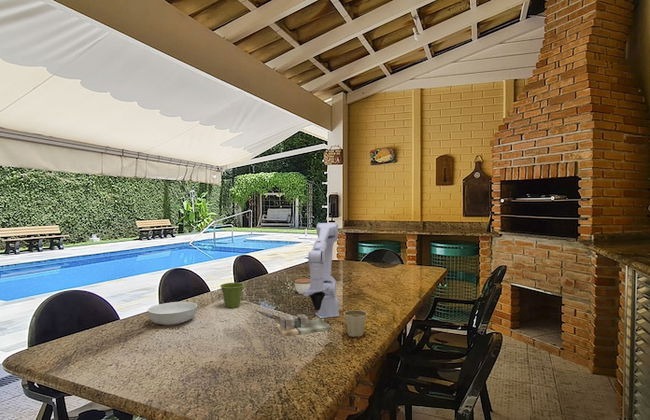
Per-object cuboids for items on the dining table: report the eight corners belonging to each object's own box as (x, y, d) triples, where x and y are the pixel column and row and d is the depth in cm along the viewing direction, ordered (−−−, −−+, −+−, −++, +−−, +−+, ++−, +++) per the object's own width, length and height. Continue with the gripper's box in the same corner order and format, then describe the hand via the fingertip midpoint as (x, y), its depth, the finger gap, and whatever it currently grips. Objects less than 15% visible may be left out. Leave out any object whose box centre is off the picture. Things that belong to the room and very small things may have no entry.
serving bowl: (207, 318, 176) (207, 303, 176) (172, 332, 157) (171, 315, 157) (174, 313, 184) (174, 299, 184) (137, 326, 165) (136, 310, 165)
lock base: (321, 321, 169) (321, 309, 169) (331, 329, 158) (331, 317, 158) (276, 327, 162) (276, 314, 162) (283, 336, 150) (283, 323, 150)
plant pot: (215, 308, 192) (215, 286, 192) (229, 302, 203) (229, 281, 203) (235, 310, 188) (234, 288, 187) (248, 304, 199) (248, 283, 198)
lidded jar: (292, 292, 226) (291, 276, 226) (308, 290, 231) (308, 275, 231) (298, 296, 216) (298, 279, 216) (315, 294, 221) (315, 278, 221)
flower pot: (369, 332, 155) (369, 311, 155) (364, 339, 146) (364, 317, 146) (347, 329, 158) (347, 309, 158) (341, 337, 149) (340, 315, 149)
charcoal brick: (305, 323, 162) (305, 317, 162) (308, 325, 159) (308, 319, 159) (285, 326, 158) (285, 319, 158) (287, 328, 156) (287, 321, 156)
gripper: (321, 274, 170) (321, 304, 170) (298, 279, 159) (298, 311, 159) (333, 276, 165) (333, 307, 165) (310, 281, 154) (310, 315, 154)
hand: (317, 309), depth 162 cm, fingers closed
